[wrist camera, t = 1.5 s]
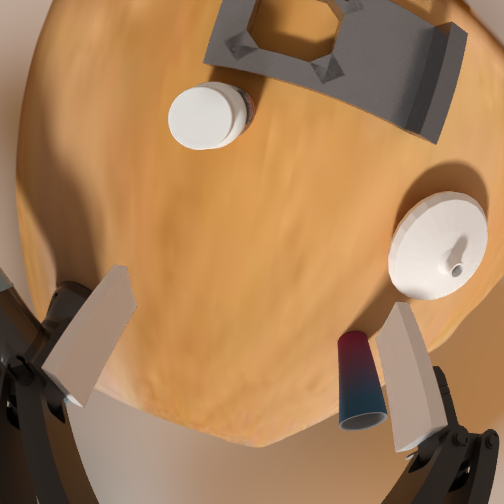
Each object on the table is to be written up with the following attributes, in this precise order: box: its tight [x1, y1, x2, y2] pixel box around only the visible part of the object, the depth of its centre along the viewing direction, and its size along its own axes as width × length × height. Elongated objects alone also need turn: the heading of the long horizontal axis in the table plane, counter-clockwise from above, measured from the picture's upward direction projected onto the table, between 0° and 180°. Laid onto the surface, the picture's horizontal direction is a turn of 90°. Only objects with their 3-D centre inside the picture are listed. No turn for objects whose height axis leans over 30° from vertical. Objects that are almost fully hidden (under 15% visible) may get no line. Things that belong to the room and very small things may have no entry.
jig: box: [203, 0, 468, 145], centre depth 17 cm, size 22×13×6 cm, turn 75°
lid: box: [388, 191, 488, 300], centre depth 27 cm, size 16×16×7 cm
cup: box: [338, 331, 388, 431], centre depth 35 cm, size 7×7×15 cm
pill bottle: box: [168, 82, 255, 150], centre depth 21 cm, size 6×6×10 cm
